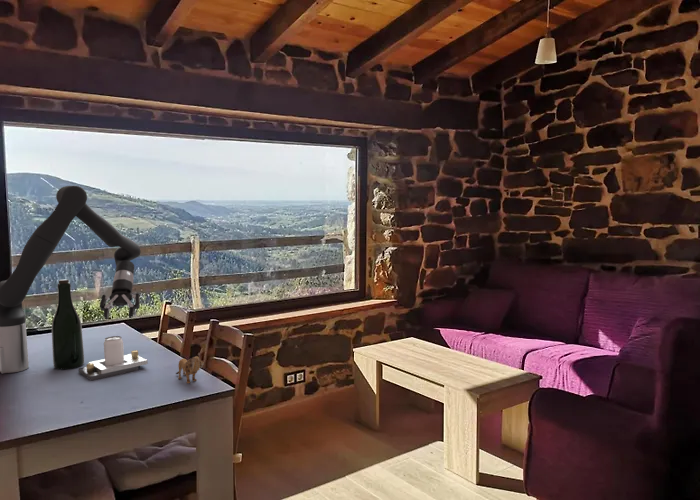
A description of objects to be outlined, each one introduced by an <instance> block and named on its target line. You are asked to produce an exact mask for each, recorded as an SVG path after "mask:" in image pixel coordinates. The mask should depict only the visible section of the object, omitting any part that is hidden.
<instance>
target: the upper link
mask: <svg viewBox="0 0 700 500" xmlns="http://www.w3.org/2000/svg"><path fill="white" fill-rule="evenodd" d="M89 363H94V370H96V371H97V372H99V373H100V374H104V373H109V372H113V371H118V370H123V369H127V368H132V367H136V366H138V367H139V366H140V367H141V366H144V365H148V359H146V358H144V357H142V356H140V355H139V350H136V349H135V350H131V352H130V353H128V354H124V363H122V364H117V365H113V366H108V367H105V366H104V365H105V358H104V359H98V360H93V361H89V362H88V364H89Z"/></svg>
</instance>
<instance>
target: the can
mask: <svg viewBox="0 0 700 500" xmlns="http://www.w3.org/2000/svg"><path fill="white" fill-rule="evenodd" d="M124 351H125V350H124V340H123V339H122V336H120V335H119V336H118V335H113V336H107V337H105V338H104V342H103V355H104V359H105V367H108V366H113V365H117V364H122V363H124V355H125V354H124V353H125V352H124Z"/></svg>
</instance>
